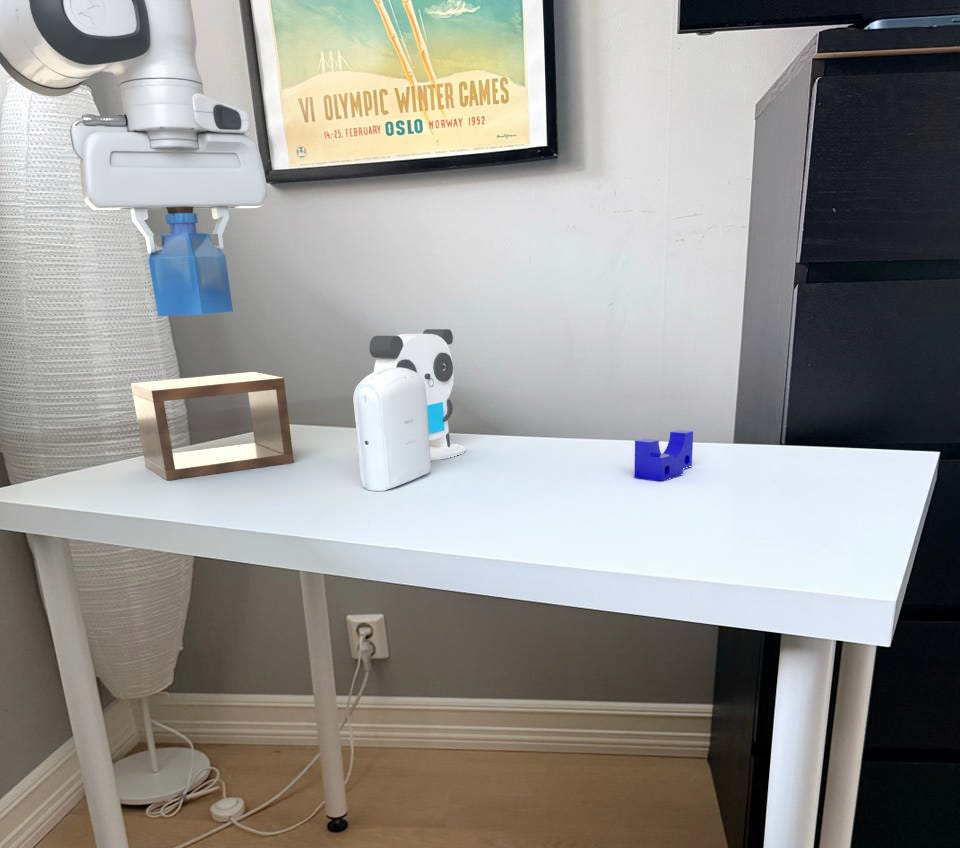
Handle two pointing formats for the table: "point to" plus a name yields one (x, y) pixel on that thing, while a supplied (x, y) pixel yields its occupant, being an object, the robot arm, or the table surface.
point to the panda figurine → (425, 378)
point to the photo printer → (391, 428)
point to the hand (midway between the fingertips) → (186, 251)
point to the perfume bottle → (189, 270)
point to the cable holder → (663, 456)
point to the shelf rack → (266, 450)
